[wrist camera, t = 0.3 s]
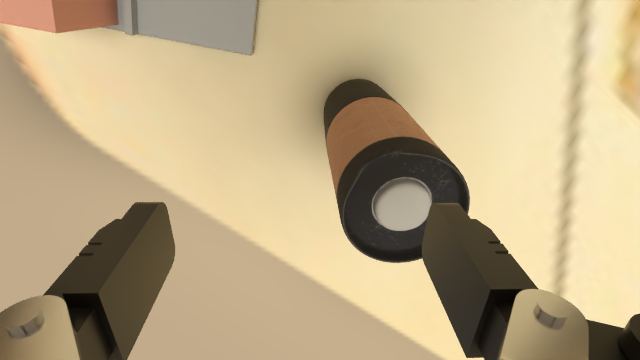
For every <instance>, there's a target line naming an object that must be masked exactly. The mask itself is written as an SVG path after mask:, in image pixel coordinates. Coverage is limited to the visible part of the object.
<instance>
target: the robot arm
mask: <svg viewBox="0 0 640 360" xmlns="http://www.w3.org/2000/svg"><path fill="white" fill-rule="evenodd" d="M174 256H175V244H174V239H173V234H172V230H171V225H170V220H169V215H168V210H167V207H166V205H165V204H164V203H163V202H136V203H134V204H133V205H132V207H131V208H130V209H129V210H128V212H127V213H126V214H125V215H124V217H123V218H122V219H115V220H114V221H112V222H111V223H109V224H108V225H106V226H105V227H103V228H102V229H100V230H99V231H98V232H97V233H96V234H95V235H94V237H93V238H92V239H91V240H90V241H89V242H88V245H86V246H85V247H84V248H83V250H82V251H81V252H80V253H79V256H77V257H76V258H75V259H74V260H73V261H72V262H71V263H70V265H69V266H68V267H67V268H66V269H65V270H64V272H63V273H62V274H61V275H60V276H59V277H58V279H57V280H56V281H55V282H54V283H53V284H52V286H51V287H50V288H49V289H48V290H47V291H46V293H45V294H44V295H43V296H36V297H32V298H29V299H26V300H23V301H20V302H18V303H16V304H14V305H12V306H10V307H8V308H7V309H5V310H4V311H2V312H1V313H0V360H127V358H128V356H129V354H130V352H131V350H132V348H133V346H134V344H135V342H136V340H137V338H138V336H139V333H140V331H141V329H142V327H143V325H144V323H145V321H146V319H147V317H148V315H149V313H150V311H151V308H152V306H153V304H154V302H155V300H156V298H157V296H158V294H159V292H160V289H161V288H162V285H163V283H164V281H165V279H166V277H167V275H168V273H169V271H170V269H171V267H172V264H173V261H174ZM422 257H423V261H424V264H425V266H426V269H427V271H428V273H429V275H430V278H431V280H432V282H433V284H434V287H435V289H436V291H437V293H438V295H439V298H440V300H441V302H442V304H443V307H444V309H445V311H446V313H447V315H448V318H449V320H450V322H451V324H452V327H453V329H454V331H455V333H456V335H457V338H458V340H459V342H460V344H461V347H462V349H463V351H464V353H465V355H466V358H480V357H484V359H485V360H640V314H636V315H634V316H632V318H631V319H630V320H629V322H628V323H627V325H626V327H625V328H620V327H616V326H612V325H608V324H603V323H599V322H595V321H590V320H586V319H585V317H584V315H583V314H582V313H581V312H580V311H579V310H578V309H577V308H576V307H575V306H574V305H573V304H571V303H570V302H568V301H567V300H565V299H564V298H562V297H560V296H558V295H556V294H553V293H551V292H548V291H544V290H539V289H538V288H537V287H536V285H535V284H534V283H533V282H532V280H531V279H530V278H529V277H528V275H527V274H526V273H525V272H524V270H523V269H522V268H521V267H520V265H519V264H518V263H517V262H516V260H515V259H514V258H513V257H512V255H511V254H508V250H507V249H506V248H505V247H504V245H503V244H501V243H500V240H499V239H498V238H497V237H496V235H495V234H494V233H493V231H492V230H491V229H490V228H488V227H487V226H485V225H484V224H482V223H481V222H479V221H478V220H476V219H470V217H469V216H468V215H467V213H466V212H465V211H464V209H463V208H462V207H461V205H460V204H458V203H433V204H432V205H431V206H430V209H429V213H428V218H427V223H426V228H425V232H424V237H423V242H422Z"/></svg>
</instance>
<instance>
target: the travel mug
mask: <svg viewBox="0 0 640 360" xmlns="http://www.w3.org/2000/svg"><path fill="white" fill-rule="evenodd" d="M324 126H325V137H326V147H327V153H328V158H329V163H330V168H331V173H332V178H333V183H334V188H335V193H336V198H337V203H338V209H339V214H340V219H341V224H342V227H343V229H344V232H345V234H346V236H347V238H348V239H349V241H350V242H351V243H352V245H353V246H354V247H355V248H356V249H358V250H359V251H360V252H362V253H363V254H365V255H367V256H368V257H371V258H373V259H376V260H379V261H383V262H391V263H401V262H410V261H415V260H418V259H422V258H423V257H422V242H423V237H424V232H425V228H426V223H427V218H428V213H429V209H430V206H431V205H432V204H433V203H458V204H460V205H461V207H462V208H463V209H464V211H465V212H466V213H467V214H468V210H469V202H470V196H469V190H468V186H467V183H466V181H465V179H464V177H463V175H462V174H461V173H460V171H459V170H458V168H457V167H456V166H455V165H454V164H453V163H452V162H451V161H450V159H449V158H448V157H447V156H446V155H445V154H444V153H443V152H442V150H441V149H440V148H439V147H438V146H437V145H436V144H435V143H434V142H433V140H432V139H431V138H430V137H429V136H428V135H427V134H426V133H425V131H424V130H423V129H422V128H421V127H420V126H419V125H418V124H417V123H416V121H415V120H414V119H413V118H412V117H411V116H410V115H409V114H408V112H407V111H406V110H405V109H404V108H403V107H402V106H401V105H399V104H398V103H397V102H396V101H395V100H394V99H393V98H392V97H391V96H389V95H388V94H387V93H386V92H385V91H384V90H383V89H381V88H380V87H379V86H378V85H376V84H374V83H373V82H370V81H367V80H362V79H355V80H350V81H347V82H344V83H342V84H341V85H339V86H338V87H336V88H335V89H334V90H333V91H332V92H331V94H330V95H329V97H328V99H327V101H326V103H325V107H324Z"/></svg>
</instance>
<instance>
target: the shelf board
mask: <svg viewBox="0 0 640 360" xmlns="http://www.w3.org/2000/svg"><path fill="white" fill-rule="evenodd" d="M117 7H118V22H119V25H112V26H105V27H103V28H108V29H114V30H119V31H124V32H125V34H128V35H137V34H140V35H145V36H150V37H156V38H161V39H166V40H172V41H177V42H182V43H187V44H193V45H198V46H203V47H208V48H214V49H219V50H224V51H229V52H235V53H240V54H245V55H252V54H253V48H254V38H255V28H256V18H257V8H258V0H117Z"/></svg>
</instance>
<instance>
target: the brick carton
mask: <svg viewBox="0 0 640 360" xmlns="http://www.w3.org/2000/svg"><path fill="white" fill-rule="evenodd" d="M0 23H4V24H9V25H15V26H20V27H25V28H31V29H36V30H42V31H47V32H52V33H61V32H68V31H75V30H83V29H90V28H97V27H105V26H112V25H119V22H118V7H117V0H0Z"/></svg>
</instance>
